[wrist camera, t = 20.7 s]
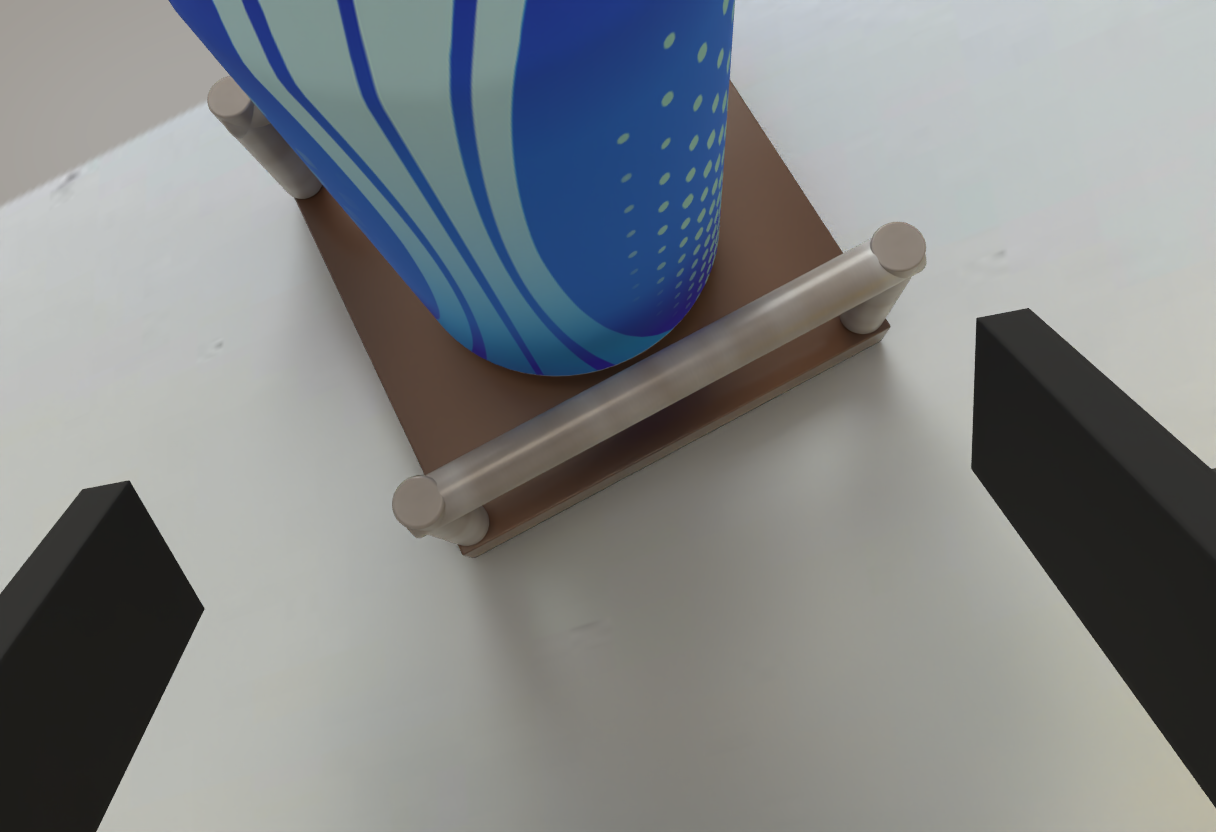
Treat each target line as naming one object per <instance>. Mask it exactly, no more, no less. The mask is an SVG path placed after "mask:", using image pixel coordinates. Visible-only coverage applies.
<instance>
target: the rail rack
mask: <svg viewBox="0 0 1216 832" xmlns="http://www.w3.org/2000/svg"><path fill="white" fill-rule="evenodd" d="M207 102H208V107H209V109H210V111H211V112H212V113H213V114H214V115H215V116H216V118H217V119H218V120H219V121H220V122H221V123H222V124H223V125H224V126H225V127H226V129H227V130H228V131H229V132H230V133H231V134H232V135H233V136H234V137H235V138H236V139H237V140H238V141H239V142H240V143H241V144H242V145H243V146H244V147H245V148H246V149H247V150H248V151H249V152H250V153H251V154H252V156H253V157H254V158H255V159H256V160H257V161H258V162H259V163H260V164H261V165H262V166H263V167H264V168H265V169H266V170H267V171H268V172H269V173H270V175H271V176H272V177H273V178H274V179H275V180H276V181H277V182H278V183H279V184H280V185H281V186H282V187H283V188H284V189H285V190H286V191H287V192H288V194H290V195H291V196H292V197H294V198H295V200H296V202H297V204H298V207H299V209H300V211H301V213H302V215H303V217H304V219H305V221H306V224H307V226H308V228H309V230H310V232H311V234H312V236H313V238H314V241H315V243H316V245H317V247H318V249H319V251H320V253H321V255H322V258H323V260H324V262H325V264H326V266H327V268H328V270H329V272H330V275H331V277H332V279H333V281H334V283H335V285H336V287H337V289H338V292H339V294H340V296H341V298H342V300H343V302H344V304H345V306H346V309H347V311H348V313H349V315H350V317H351V319H352V321H353V323H354V326H355V328H356V330H357V332H358V334H359V336H360V338H361V340H362V343H363V345H364V347H365V349H366V351H367V353H368V355H369V357H370V359H371V362H372V364H373V366H374V368H375V370H376V372H377V374H378V376H379V379H380V381H381V383H382V385H383V387H384V389H385V391H386V393H387V396H388V398H389V400H390V402H391V404H392V406H393V408H394V410H395V413H396V415H397V417H398V419H399V421H400V423H401V425H402V427H403V430H404V432H405V434H406V436H407V438H408V440H409V442H410V444H411V447H412V449H413V451H414V453H415V455H416V457H417V459H418V461H419V464H420V466H421V468H422V470H423V472H424V474H425V476H424V475H417V476H413V477H410V478H408V479H406V480H405V481H403V482H402V483H401V484H400V485H399V486H398V488H397V489H396V491H395V493H394V496H393V501H392V508H393V512H394V515H395V517H396V519H397V520H398V521H399V522H400V523H401V524H402V525H403V526H405V527H407V529H408V530H409V531H410V532H411V534H413V535H414V536H415V537H416V538H422V537H424V536H426V535H431V536H434V537H437V538H440V539H443V540H446V541H449V542H452V543H455V544H458V546H459V549H460V551H461V553H462V554H463V555H465V556H468V557H472V558H475V557H477V556H479V555H481V554H483V553H485V552H487V551H489V550H490V549H492V548H494V547H496V546H498V545H500V544H502V543H504V542H505V541H507V540H509V539H511V538H513V537H515V536H517V535H518V534H520V533H522V532H524V531H526V530H528V529H530V528H532V527H533V526H535V525H537V524H539V523H541V522H543V521H545V520H547V519H548V518H550V517H552V516H554V515H556V514H558V513H560V512H562V511H563V510H565V509H567V508H569V507H571V506H573V505H575V504H576V503H578V502H580V501H582V500H584V499H586V498H588V497H590V496H591V495H593V494H595V493H597V492H599V491H601V490H603V489H605V488H606V487H608V486H610V485H612V484H614V483H616V482H618V481H620V480H621V479H623V478H625V477H627V476H629V475H631V474H633V473H634V472H636V471H638V470H640V469H642V468H644V467H646V466H648V465H649V464H651V463H653V462H655V461H657V460H659V459H661V458H663V457H664V456H666V455H668V454H670V453H672V452H674V451H676V450H678V449H679V448H681V447H683V446H685V445H687V444H689V443H691V442H692V441H694V440H696V439H698V438H700V437H702V436H704V435H706V434H707V433H709V432H711V431H713V430H715V429H717V428H719V427H721V426H722V425H724V424H726V423H728V422H730V421H732V420H734V419H736V418H737V417H739V416H741V415H743V414H745V413H747V412H749V411H750V410H752V409H754V408H756V407H758V406H760V405H762V404H764V403H765V402H767V401H769V400H771V399H773V398H775V397H777V396H779V395H780V394H782V393H784V392H786V391H788V390H790V389H792V388H794V387H795V386H797V385H799V384H801V383H803V382H805V381H807V380H808V379H810V378H812V377H814V376H816V375H818V374H820V373H822V372H823V371H825V370H827V369H829V368H831V367H833V366H835V365H837V364H838V363H840V362H842V361H844V360H846V359H848V358H850V357H852V356H853V355H855V354H857V353H859V352H861V351H863V350H865V349H866V348H868V347H870V346H872V345H874V344H876V343H878V342H880V341H881V340H882V339H883V337H884V336H885V334H886V333H887V331H888V330H889V328H890V324H889V323H888V321H887V320H886V317H887V315H888V314H889V312H890V310H891V309H892V307H893V306H894V304H895V303H896V301H897V299H898V298H899V296H900V295H901V293H902V291H903V290H904V288H905V287H906V285H907V284H908V282H909V280H910V279H911V277H912V276H914V275H915V274H917V273H919V272H921V271H922V270H923V269H924V268H925V266H926V255H925V252H926V244H925V240H924V238H923V236H922V234H921V233H920V231H919V230H918V229H916V228H915V227H914V226H912V225H910V224H907V223H903V222H892V223H888V224H885V225H883V226H882V227H880V228H879V229H878V230H877V231H876V232H875V233H874V235H873V237H872V238H871V239H869V240H867V241H865V242H864V243H862V244H860V245H858V246H856V247H854V248H852V249H850V250H849V251H847V252H845V253H843V252H842V251H841V249H840V248H839V246H838V245H837V243H836V242H835V240H834V239H833V237H832V235H831V234H830V232H829V231H828V229H827V228H826V226H825V225H824V223H823V222H822V220H821V219H820V217H819V216H818V214H817V212H816V211H815V209H814V208H813V206H812V205H811V203H810V202H809V200H808V199H807V197H806V196H805V194H804V193H803V191H802V189H801V188H800V186H799V185H798V183H797V182H796V180H795V179H794V177H793V176H792V174H791V173H790V171H789V170H788V168H787V166H786V165H785V163H784V162H783V160H782V159H781V157H780V156H779V154H778V153H777V151H776V150H775V148H774V147H773V145H772V143H771V142H770V140H769V139H768V137H767V136H766V134H765V133H764V131H763V130H762V128H761V127H760V125H759V124H758V122H757V120H756V119H755V117H754V116H753V114H752V113H751V111H750V110H749V108H748V107H747V105H746V104H745V102H744V101H743V99H742V97H741V96H740V94H739V93H738V91H737V90H736V88H735V87H734V85H733V84H732V82H731V81H730V79H729V94H728V109H727V123H726V138H725V153H724V168H723V182H722V197H721V212H720V227H719V240H718V246H717V252H716V256H715V259H714V263H713V266H712V269H711V272H710V274H709V277H708V279H707V282H706V284H705V286H704V288H703V290H702V291H701V293H700V295H699V297H698V298H697V300H696V301H695V303H694V305H693V306H692V308H691V309H690V310H689V312H688V313H687V314H686V315H685V316H684V318H683V319H682V320H681V321H680V322H679V323H678V324H677V325H676V326H675V327H674V328H673V329H672V331H671V332H669V333H668V334H667V335H666V336H665V337H663V338H662V339H661V340H660V341H659V342H657V343H656V344H654V345H653V346H652V347H650V348H649V349H647V350H646V351H644V352H642V353H641V354H639V355H637V356H635V357H633V358H632V359H629V360H627V361H625V362H623V363H620V364H618V365H615V366H612V367H609V368H606V369H603V370H600V371H595V372H591V373H587V374H580V375H572V376H541V375H534V374H527V373H522V372H518V371H514V370H510V369H507V368H505V367H502V366H499V365H496V364H494V363H492V362H490V361H488V360H486V359H484V358H481V357H480V356H478V355H476V354H475V353H473V352H472V351H470V350H468V349H467V348H466V347H464V346H463V345H462V344H460V343H459V342H458V341H457V340H455V339H454V338H453V337H452V336H451V335H450V334H449V333H448V332H447V331H446V330H445V329H444V328H443V326H442V325H441V324H440V323H439V322H438V320H437V319H436V318H435V317H434V316H433V315H432V313H431V312H430V311H429V310H428V309H427V307H426V306H425V305H424V304H423V303H422V302H421V300H420V299H419V298H418V297H417V296H416V294H415V293H414V292H413V291H412V290H411V289H410V287H409V286H408V285H407V284H406V283H405V281H404V280H403V279H402V278H401V277H400V276H399V274H398V273H397V272H396V271H395V270H394V268H393V267H392V266H391V265H390V264H389V263H388V261H387V260H386V259H385V258H384V257H383V255H382V254H381V253H380V252H379V251H378V250H377V248H376V247H375V246H374V245H373V244H372V242H371V241H370V240H369V239H368V238H367V237H366V235H365V234H364V233H363V232H362V231H361V229H360V228H359V227H358V226H357V225H356V224H355V222H354V221H353V220H352V219H351V218H350V216H349V215H348V214H347V213H346V212H345V211H344V209H343V208H342V207H341V206H340V205H339V203H338V202H337V201H336V200H335V199H334V198H333V196H332V195H331V194H330V193H329V192H328V190H327V189H326V188H325V187H324V186H323V185H322V183H321V182H320V181H319V180H318V179H317V177H316V176H315V175H314V174H313V173H312V172H311V170H310V169H309V168H308V167H307V166H306V164H305V163H304V162H303V161H302V160H301V159H300V157H299V156H298V155H297V154H296V153H295V151H294V150H293V149H292V148H291V147H290V146H289V144H288V143H287V142H286V141H285V140H284V138H283V137H282V136H281V135H280V134H279V133H278V131H277V130H276V129H275V128H274V127H273V125H272V124H271V123H270V122H269V121H268V119H267V118H266V117H265V116H264V115H263V114H262V112H261V111H260V110H259V109H258V108H257V106H256V105H255V104H254V103H253V102H252V101H251V99H250V98H249V97H248V96H247V95H246V93H245V92H244V91H243V90H242V89H241V88H240V86H239V85H238V84H237V83H236V82H235V80H234V79H233V78H232V77H231V76H229V77H225V78H222V79H221V80H219V81H218V82H216V83H215V84H214V85H213V86H212V88H211V89H210V91H209V94H208V98H207Z"/></svg>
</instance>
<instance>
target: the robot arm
mask: <svg viewBox="0 0 1216 832" xmlns="http://www.w3.org/2000/svg"><path fill="white" fill-rule="evenodd" d="M971 469H972V470H973V472H974V473H975V474H976V476H977V477H978V479H979V480H980V481H981V483H982V484H983V486H984V487H985V488H986V490H987V491H988V492H989V494H990V495H991V497H992V498H993V499H994V501H995V502H996V504H997V505H998V506H999V508H1000V509H1001V511H1002V512H1003V513H1004V515H1005V516H1006V517H1007V519H1008V520H1009V522H1010V523H1011V524H1012V526H1013V527H1014V529H1015V530H1016V531H1017V533H1018V534H1019V535H1020V537H1021V538H1022V540H1023V541H1024V542H1025V544H1026V545H1027V547H1028V548H1029V549H1030V551H1031V552H1032V554H1033V555H1034V556H1035V558H1036V559H1037V560H1038V562H1039V563H1040V565H1041V566H1042V567H1043V569H1044V570H1045V572H1046V573H1047V574H1048V576H1049V577H1050V579H1051V580H1052V581H1053V583H1054V584H1055V585H1056V587H1057V588H1058V590H1059V591H1060V592H1061V594H1062V595H1063V597H1064V598H1065V599H1066V601H1067V602H1068V604H1069V605H1070V606H1071V608H1072V609H1073V610H1074V612H1075V613H1076V615H1077V616H1078V617H1079V619H1080V620H1081V622H1082V623H1083V624H1084V626H1085V627H1086V629H1087V630H1088V631H1089V633H1090V634H1091V635H1092V637H1093V638H1094V640H1095V641H1096V642H1097V644H1098V645H1099V647H1100V648H1101V649H1102V651H1103V652H1104V653H1105V655H1106V656H1107V658H1108V659H1109V660H1110V662H1111V663H1112V665H1113V666H1114V667H1115V669H1116V670H1117V672H1118V673H1119V674H1120V676H1121V677H1122V678H1123V680H1124V681H1125V683H1126V684H1127V685H1128V687H1129V688H1130V690H1131V691H1132V692H1133V694H1134V695H1135V697H1136V698H1137V699H1138V701H1139V702H1140V703H1141V705H1142V706H1143V708H1144V709H1145V710H1146V712H1147V713H1148V715H1149V716H1150V717H1151V719H1152V720H1153V722H1154V723H1155V724H1156V726H1157V727H1158V728H1159V730H1160V731H1161V733H1162V734H1163V735H1164V737H1165V738H1166V740H1167V741H1168V742H1169V744H1170V745H1171V746H1172V748H1173V749H1174V751H1175V752H1176V753H1177V755H1178V756H1179V758H1180V759H1181V760H1182V762H1183V763H1184V765H1185V766H1186V767H1187V769H1188V770H1189V771H1190V773H1191V774H1192V776H1193V777H1194V778H1195V780H1196V781H1197V783H1198V784H1199V785H1200V787H1201V788H1202V790H1203V791H1204V792H1205V794H1206V795H1207V796H1208V798H1209V799H1210V801H1211V802H1212V803H1213V805H1214V806H1215V808H1216V468H1214V469H1211V468H1209V467H1208V466H1207V465H1206V464H1205V463H1204V462H1203V461H1201V460H1200V459H1199V458H1198V457H1197V456H1196V455H1195V454H1194V453H1192V452H1191V451H1190V450H1189V449H1188V448H1187V447H1186V446H1184V445H1183V444H1182V443H1181V442H1180V441H1179V440H1178V439H1177V438H1175V437H1174V436H1173V435H1172V434H1171V433H1170V432H1169V431H1167V430H1166V429H1165V428H1164V427H1163V426H1162V425H1161V424H1160V423H1158V422H1157V421H1156V420H1155V419H1154V418H1153V417H1152V416H1150V415H1149V414H1148V413H1147V412H1146V411H1145V410H1144V409H1143V408H1141V407H1140V406H1139V405H1138V404H1137V403H1136V402H1135V401H1133V400H1132V399H1131V398H1130V397H1129V396H1128V395H1127V394H1126V393H1124V392H1123V391H1122V390H1121V389H1120V388H1119V387H1118V386H1116V385H1115V384H1114V383H1113V382H1112V381H1111V380H1110V379H1109V378H1107V377H1106V376H1105V375H1104V374H1103V373H1102V372H1101V371H1099V370H1098V369H1097V368H1096V367H1095V366H1094V365H1093V364H1092V363H1090V362H1089V361H1088V360H1087V359H1086V358H1085V357H1084V356H1082V355H1081V354H1080V353H1079V352H1078V351H1077V350H1076V349H1075V348H1073V347H1072V346H1071V345H1070V344H1069V343H1068V342H1067V341H1065V340H1064V339H1063V338H1062V337H1061V336H1060V335H1059V334H1058V333H1056V332H1055V331H1054V330H1053V329H1052V328H1051V327H1050V326H1048V325H1047V324H1046V323H1045V322H1044V321H1043V320H1042V319H1041V318H1039V317H1038V316H1037V315H1036V314H1035V313H1034V312H1033V311H1031V310H1030V309H1029V308H1027V309H1022V310H1016V311H1011V312H1006V313H1001V314H995V315H990V316H985V317H980V318H977V320H976V348H975V377H974V406H973V434H972V463H971ZM203 611H204V607H203V605H202V604H201V602H200V600H199V598H198V597H197V595H196V593H195V592H194V590H193V588H192V586H191V585H190V583H189V581H188V580H187V578H186V576H185V575H184V573H183V571H182V569H181V568H180V566H179V564H178V563H177V561H176V559H175V557H174V556H173V554H172V552H171V551H170V549H169V547H168V546H167V544H166V542H165V540H164V539H163V537H162V535H161V534H160V532H159V530H158V528H157V527H156V525H155V523H154V522H153V520H152V518H151V517H150V515H149V513H148V511H147V510H146V508H145V506H144V505H143V503H142V501H141V499H140V498H139V496H138V494H137V493H136V491H135V489H134V488H133V486H132V484H131V482H130V481H124V482H119V483H113V484H108V485H103V486H98V487H92V488H87V489H82V491H81V492H80V493H79V494H78V496H77V497H76V498H75V500H74V501H73V502H72V503H71V505H70V506H69V507H68V508H67V510H66V511H65V512H64V514H63V515H62V516H61V517H60V519H59V520H58V521H57V522H56V524H55V525H54V526H53V528H52V529H51V530H50V531H49V533H48V534H47V535H46V536H45V538H44V539H43V540H42V542H41V543H40V544H39V545H38V547H37V548H36V549H35V550H34V552H33V553H32V554H31V556H30V557H29V558H28V559H27V561H26V562H25V563H24V564H23V566H22V567H21V568H20V570H19V571H18V572H17V573H16V575H15V576H14V577H13V578H12V580H11V581H10V582H9V584H8V585H7V586H6V587H5V589H4V590H3V591H2V592H1V594H0V832H96V831H97V829H98V827H99V825H100V823H101V821H102V819H103V817H104V815H105V813H106V810H107V808H108V806H109V804H110V802H111V800H112V798H113V796H114V794H115V792H116V790H117V788H118V786H119V784H120V782H121V780H122V778H123V776H124V773H125V771H126V769H127V767H128V765H129V763H130V761H131V759H132V757H133V755H134V753H135V751H136V749H137V747H138V745H139V743H140V741H141V738H142V736H143V734H144V732H145V730H146V728H147V726H148V724H149V722H150V720H151V718H152V716H153V714H154V712H155V710H156V708H157V706H158V703H159V701H160V699H161V697H162V695H163V693H164V691H165V689H166V687H167V685H168V683H169V681H170V679H171V677H172V675H173V673H174V671H175V668H176V666H177V664H178V662H179V660H180V658H181V656H182V654H183V652H184V650H185V648H186V646H187V644H188V642H189V640H190V638H191V636H192V634H193V631H194V629H195V627H196V625H197V623H198V621H199V619H200V617H201V615H202V613H203Z"/></svg>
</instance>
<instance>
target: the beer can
mask: <svg viewBox="0 0 1216 832" xmlns="http://www.w3.org/2000/svg"><path fill="white" fill-rule="evenodd" d="M169 2H170V3H171V5H172V6H173V8H174V9H175V10H176V12H177V13H178V14H179V15H180V17H181V18H182V19H183V20H184V21H185V23H186V24H187V25H188V26H189V27H190V28H191V30H192V31H193V32H194V33H195V34H196V35H197V37H198V38H199V39H200V40H201V41H202V43H203V44H204V45H205V46H206V47H207V48H208V50H209V51H210V52H211V53H212V54H213V56H214V57H215V58H216V59H217V60H218V62H219V63H220V64H221V65H222V66H223V67H224V69H225V70H226V71H227V72H228V73H229V75H230V76H231V77H232V78H233V79H234V80H235V82H236V83H237V84H238V85H239V86H240V88H241V89H242V90H243V91H244V92H245V93H246V95H247V96H248V97H249V98H250V99H251V101H252V102H253V103H254V104H255V105H256V106H257V108H258V109H259V110H260V111H261V112H262V114H263V115H264V116H265V117H266V118H267V119H268V121H269V122H270V123H271V124H272V125H273V127H274V128H275V129H276V130H277V131H278V133H279V134H280V135H281V136H282V137H283V138H284V140H285V141H286V142H287V143H288V144H289V146H290V147H291V148H292V149H293V150H294V151H295V153H296V154H297V155H298V156H299V157H300V159H301V160H302V161H303V162H304V163H305V164H306V166H307V167H308V168H309V169H310V170H311V172H312V173H313V174H314V175H315V176H316V177H317V179H318V180H319V181H320V182H321V183H322V185H323V186H324V187H325V188H326V189H327V190H328V192H329V193H330V194H331V195H332V196H333V198H334V199H335V200H336V201H337V202H338V203H339V205H340V206H341V207H342V208H343V209H344V211H345V212H346V213H347V214H348V215H349V216H350V218H351V219H352V220H353V221H354V222H355V224H356V225H357V226H358V227H359V228H360V229H361V231H362V232H363V233H364V234H365V235H366V237H367V238H368V239H369V240H370V241H371V242H372V244H373V245H374V246H375V247H376V248H377V250H378V251H379V252H380V253H381V254H382V255H383V257H384V258H385V259H386V260H387V261H388V263H389V264H390V265H391V266H392V267H393V268H394V270H395V271H396V272H397V273H398V274H399V276H400V277H401V278H402V279H403V280H404V281H405V283H406V284H407V285H408V286H409V287H410V289H411V290H412V291H413V292H414V293H415V294H416V296H417V297H418V298H419V299H420V300H421V302H422V303H423V304H424V305H425V306H426V307H427V309H428V310H429V311H430V312H431V313H432V315H433V316H434V317H435V318H436V319H437V320H438V322H439V323H440V324H441V325H442V326H443V328H444V329H445V330H446V331H447V332H448V333H449V334H450V335H451V336H452V337H453V338H454V339H455V340H457V341H458V342H459V343H460V344H462V345H463V346H464V347H466V348H467V349H468V350H470V351H472V352H473V353H475V354H476V355H478V356H480V357H481V358H484V359H486V360H488V361H490V362H492V363H494V364H496V365H499V366H502V367H505V368H507V369H510V370H514V371H518V372H522V373H527V374H534V375H541V376H572V375H580V374H587V373H591V372H595V371H600V370H603V369H606V368H609V367H612V366H615V365H618V364H620V363H623V362H625V361H627V360H629V359H632V358H633V357H635V356H637V355H639V354H641V353H642V352H644V351H646V350H647V349H649V348H650V347H652V346H653V345H654V344H656V343H657V342H659V341H660V340H661V339H662V338H663V337H665V336H666V335H667V334H668V333H669V332H671V331H672V329H673V328H674V327H675V326H676V325H677V324H678V323H679V322H680V321H681V320H682V319H683V318H684V316H685V315H686V314H687V313H688V312H689V310H690V309H691V308H692V306H693V305H694V303H695V301H696V300H697V298H698V297H699V295H700V293H701V291H702V290H703V288H704V286H705V284H706V282H707V279H708V277H709V274H710V272H711V269H712V266H713V263H714V259H715V256H716V252H717V246H718V240H719V227H720V212H721V197H722V182H723V168H724V153H725V138H726V123H727V109H728V94H729V79H730V65H731V50H732V35H733V20H734V6H735V0H169Z"/></svg>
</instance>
